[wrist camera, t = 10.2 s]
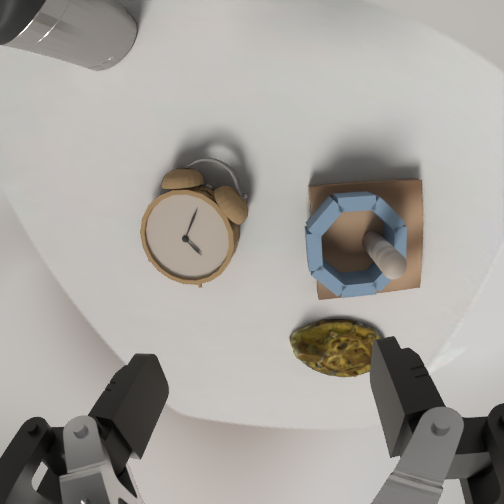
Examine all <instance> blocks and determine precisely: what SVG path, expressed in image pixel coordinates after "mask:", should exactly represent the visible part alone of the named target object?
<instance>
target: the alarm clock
mask: <svg viewBox="0 0 504 504" xmlns="http://www.w3.org/2000/svg"><path fill="white" fill-rule="evenodd" d="M201 161H208V162H213V163H216V164H219V165H220V166H222V167H224V168H225V169H226V170H227V171H228V172H229V173H230V174H231V176H232V177H233V179H234V182H235V186H236V189H237V190H236V189H235V188H233V187H231V186H220V187H218V188H216V189H215V190H214V191H213V190H211V189H212V187H213V186H211V185H209V184H206V187H208V188H205V187H202V186H199V185H202V184H204V179H203V177H202V175H201V174H200V173H199V172H198V171H196V170H194V169H190V168H185V167H189V166H192V165H194V164H196V163H198V162H201ZM162 188H164V189H173V190H170V191H168V192H167V193H165V194H162V195H160V196H158V197H157V198H156V199H155V200H154V201H153V202H152V203H151V204H150V205H149V206H148V208H147V210H146V212H145V214H144V216H143V218H142V224H141V231H140V233H141V239H142V246H143V248H144V250H145V253H146V255H147V257H148V260H149V262H151V263H152V264H153V265H154V266H155V268H156V269H157V270H158V271H159V272H161V273H162V274H164V275H165V276H166V277H168V278H169V279H171V280H174V281H177V282H180V283H183V284H196V285H198V287H199V288H201V287H202V283H205V282H209V281H211V280H213V279H214V278H216V277H217V276H219V275H220V274H222V272H223V271H224V270H225V268H226V267H227V265H228V264H229V263H230V261H231V258H232V256H233V255H234V253H235V251H236V248H237V244H238V241H239V226H238V225H240V224H242V223H243V222H244V221H245V220H246V218H247V216H248V206H247V203H246V199H247V197H248V195H247V194H242V192H241V190H240V187H239V182H238V178H237V176H236V174H235V172H234V171H233V169H232V168H230V167H229V166H228V165H227V164H225V163H224V162H222V161H220V160H217V159H212V158H204V159H199V160H197V161H194V162H192V163H191V164H189V165H186V166H184V167H183V164H182V163H181V164H179V165H178V168H176V169H175V170H173V171H171V172H169V173H167V174H166V175H165V177H164V178H163V181H162ZM209 188H210V189H209Z"/></svg>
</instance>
